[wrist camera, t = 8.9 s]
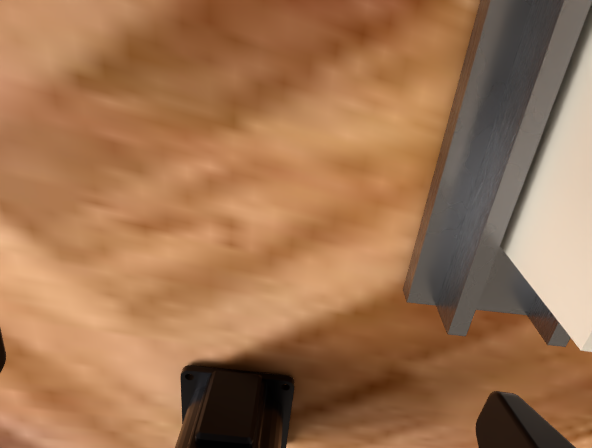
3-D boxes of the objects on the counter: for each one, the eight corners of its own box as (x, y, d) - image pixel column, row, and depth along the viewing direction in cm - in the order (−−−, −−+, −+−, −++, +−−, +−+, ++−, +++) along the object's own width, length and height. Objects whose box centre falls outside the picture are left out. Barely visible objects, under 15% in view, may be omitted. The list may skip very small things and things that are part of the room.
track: (561, 306, 21) (597, 350, 18) (403, 289, 21) (415, 330, 18) (840, -258, 12) (994, -336, 9) (558, -291, 12) (629, -380, 9)
